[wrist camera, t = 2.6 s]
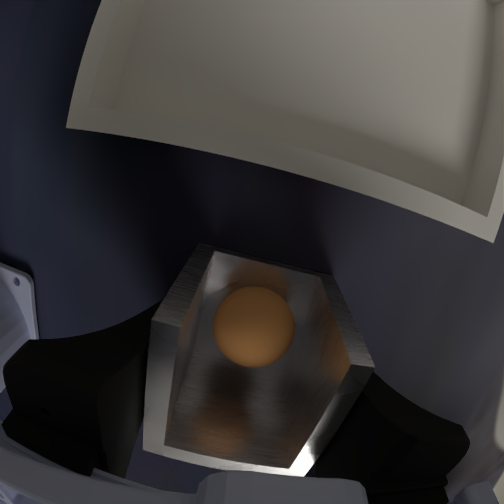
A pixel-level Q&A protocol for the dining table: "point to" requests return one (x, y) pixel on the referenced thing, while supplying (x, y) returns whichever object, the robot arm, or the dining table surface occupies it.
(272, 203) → the dining table surface
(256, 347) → the ball
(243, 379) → the silver open box
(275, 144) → the tray
